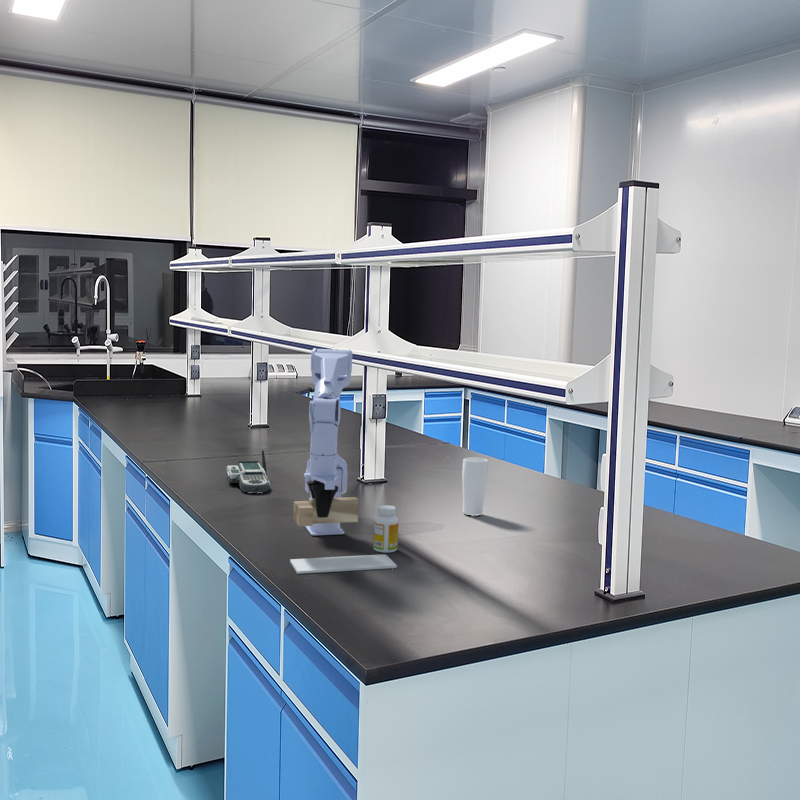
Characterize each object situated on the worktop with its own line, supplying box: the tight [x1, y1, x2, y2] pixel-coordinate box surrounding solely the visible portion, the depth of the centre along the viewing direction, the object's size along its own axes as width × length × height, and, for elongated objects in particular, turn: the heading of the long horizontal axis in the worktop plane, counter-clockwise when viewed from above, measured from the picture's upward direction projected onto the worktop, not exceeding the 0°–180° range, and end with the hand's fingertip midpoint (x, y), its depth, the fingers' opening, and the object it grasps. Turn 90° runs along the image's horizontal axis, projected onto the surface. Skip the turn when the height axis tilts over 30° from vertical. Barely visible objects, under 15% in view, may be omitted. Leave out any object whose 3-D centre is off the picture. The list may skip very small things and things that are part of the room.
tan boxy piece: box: [292, 496, 360, 527], centre depth 176 cm, size 6×14×5 cm, turn 108°
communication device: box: [226, 450, 271, 493], centre depth 241 cm, size 12×24×9 cm, turn 18°
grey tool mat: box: [289, 554, 398, 575], centre depth 169 cm, size 8×21×1 cm, turn 108°
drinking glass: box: [461, 456, 489, 515], centre depth 217 cm, size 7×7×15 cm
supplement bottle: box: [373, 505, 399, 554], centre depth 181 cm, size 5×5×10 cm
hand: (321, 515), depth 176 cm, fingers closed on tan boxy piece, 2 cm apart
